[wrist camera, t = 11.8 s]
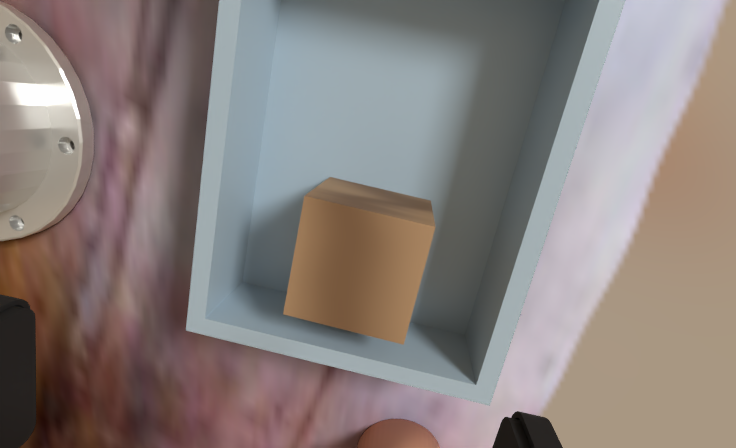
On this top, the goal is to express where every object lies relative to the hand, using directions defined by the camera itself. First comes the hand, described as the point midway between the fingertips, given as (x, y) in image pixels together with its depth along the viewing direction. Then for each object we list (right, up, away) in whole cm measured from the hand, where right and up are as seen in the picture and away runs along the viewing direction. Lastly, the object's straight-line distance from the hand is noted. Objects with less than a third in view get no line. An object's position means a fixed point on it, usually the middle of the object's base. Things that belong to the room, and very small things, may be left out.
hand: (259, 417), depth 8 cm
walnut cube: (+2, +3, +13) cm, 13 cm away
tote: (+3, +7, +13) cm, 15 cm away
